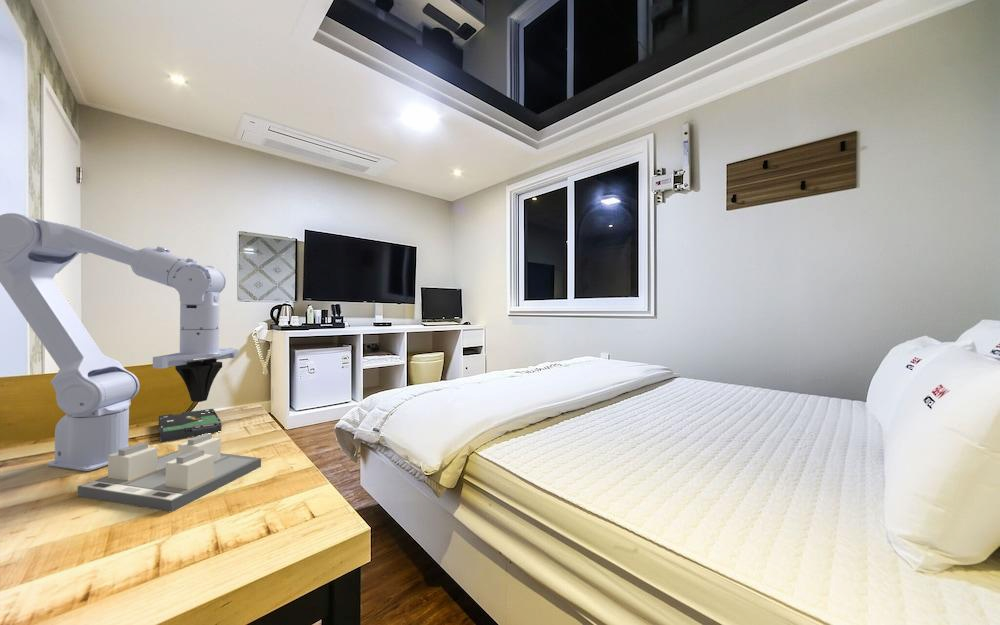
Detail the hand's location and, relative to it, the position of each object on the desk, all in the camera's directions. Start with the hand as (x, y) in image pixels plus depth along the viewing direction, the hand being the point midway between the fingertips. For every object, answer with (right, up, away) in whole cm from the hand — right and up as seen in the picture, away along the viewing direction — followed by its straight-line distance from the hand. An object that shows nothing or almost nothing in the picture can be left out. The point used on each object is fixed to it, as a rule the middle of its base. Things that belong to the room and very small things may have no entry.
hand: (199, 400), depth 69 cm
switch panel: (+4, -11, -9) cm, 15 cm away
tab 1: (-2, -9, -11) cm, 14 cm away
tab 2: (+5, -9, -6) cm, 12 cm away
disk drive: (-14, -11, +15) cm, 23 cm away
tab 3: (+9, -9, -13) cm, 18 cm away
